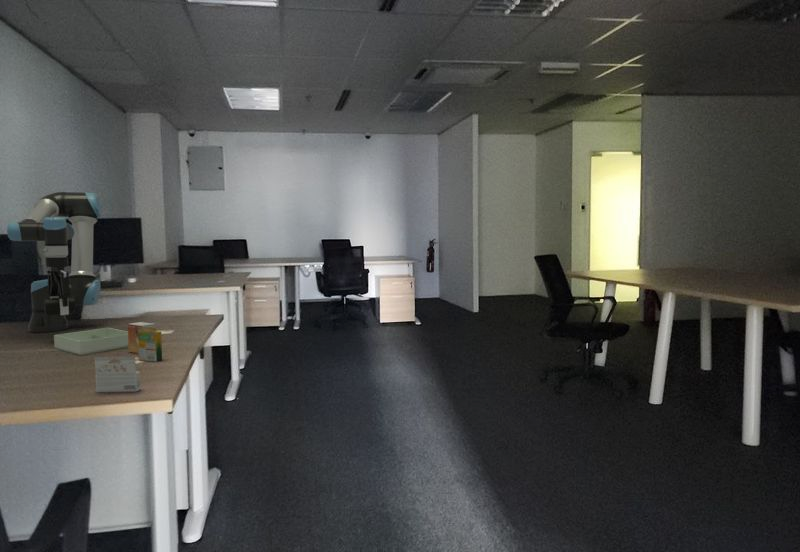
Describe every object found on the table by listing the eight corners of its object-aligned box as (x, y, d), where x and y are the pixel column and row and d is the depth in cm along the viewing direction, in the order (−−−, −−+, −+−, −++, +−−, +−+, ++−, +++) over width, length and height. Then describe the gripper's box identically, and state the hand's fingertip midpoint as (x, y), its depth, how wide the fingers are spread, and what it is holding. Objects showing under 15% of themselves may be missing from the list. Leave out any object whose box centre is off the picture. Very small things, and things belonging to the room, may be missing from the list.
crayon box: (162, 359, 178) (161, 326, 177) (156, 361, 175) (155, 327, 174) (144, 358, 180) (143, 325, 179) (138, 360, 177) (137, 326, 176)
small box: (128, 352, 190) (127, 323, 189) (142, 349, 194) (141, 321, 194) (142, 354, 186) (141, 325, 185) (156, 351, 191) (155, 323, 190)
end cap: (45, 317, 202) (44, 299, 201) (44, 314, 207) (43, 297, 207) (76, 314, 208) (75, 297, 207) (73, 312, 214) (72, 295, 213)
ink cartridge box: (100, 389, 143) (98, 354, 142) (141, 389, 143) (139, 354, 142) (95, 392, 140) (93, 356, 139) (137, 392, 140) (135, 356, 140)
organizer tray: (54, 347, 197) (53, 334, 197) (109, 339, 213) (108, 327, 213) (80, 355, 184) (79, 341, 184) (136, 346, 200) (136, 333, 200)
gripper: (35, 256, 209) (38, 312, 211) (57, 258, 196) (60, 317, 199) (56, 255, 215) (59, 309, 217) (78, 257, 202) (81, 315, 205)
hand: (59, 313), depth 208 cm, fingers closed on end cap, 8 cm apart
